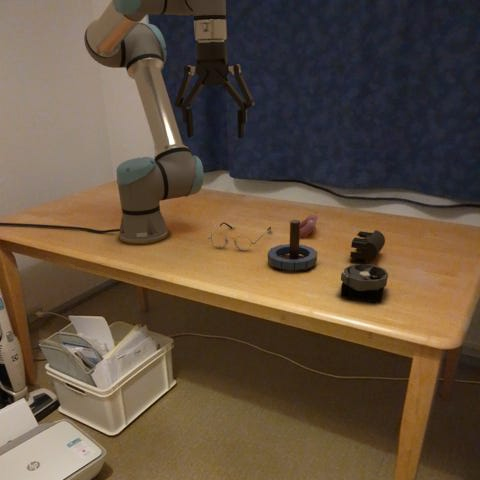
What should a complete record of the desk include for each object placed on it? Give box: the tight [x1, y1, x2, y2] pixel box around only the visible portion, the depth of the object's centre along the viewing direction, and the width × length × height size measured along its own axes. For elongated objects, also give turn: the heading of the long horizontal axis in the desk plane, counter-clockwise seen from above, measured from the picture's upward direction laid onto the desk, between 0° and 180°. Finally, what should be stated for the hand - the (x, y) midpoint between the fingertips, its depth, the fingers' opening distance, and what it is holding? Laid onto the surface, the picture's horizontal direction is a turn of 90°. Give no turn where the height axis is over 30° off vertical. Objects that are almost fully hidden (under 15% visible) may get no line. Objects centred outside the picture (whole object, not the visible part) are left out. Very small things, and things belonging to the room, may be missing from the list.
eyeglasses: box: [208, 221, 272, 252], centre depth 147 cm, size 16×19×5 cm
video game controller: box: [300, 213, 319, 239], centre depth 150 cm, size 10×5×7 cm, turn 168°
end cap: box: [349, 229, 386, 265], centre depth 131 cm, size 10×7×7 cm
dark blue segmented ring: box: [267, 243, 318, 271], centre depth 130 cm, size 13×13×2 cm
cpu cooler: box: [340, 263, 389, 303], centre depth 113 cm, size 10×6×10 cm
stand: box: [275, 219, 308, 272], centre depth 128 cm, size 8×8×12 cm
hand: (215, 137), depth 124 cm, fingers open, 13 cm apart
